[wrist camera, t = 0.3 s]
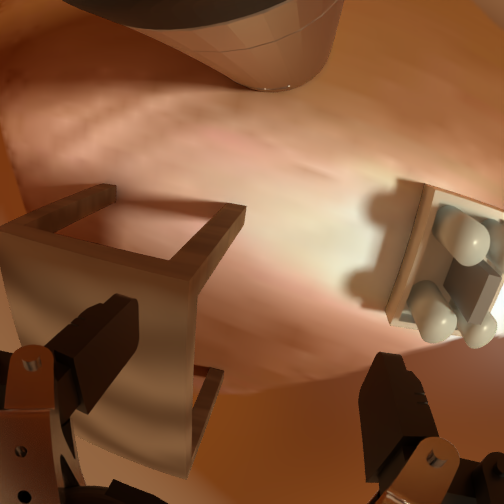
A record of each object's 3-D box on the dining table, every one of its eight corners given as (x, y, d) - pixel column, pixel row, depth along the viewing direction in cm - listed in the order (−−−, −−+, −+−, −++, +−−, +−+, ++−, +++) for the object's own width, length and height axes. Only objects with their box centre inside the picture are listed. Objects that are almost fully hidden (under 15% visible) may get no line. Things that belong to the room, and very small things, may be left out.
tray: (424, 183, 23) (460, 204, 17) (511, 212, 22) (554, 239, 16) (384, 310, 28) (400, 359, 21) (468, 324, 27) (494, 367, 20)
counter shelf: (102, 183, 28) (-6, 229, 15) (246, 206, 26) (189, 281, 14) (113, 347, 36) (54, 423, 23) (222, 380, 34) (186, 479, 22)
